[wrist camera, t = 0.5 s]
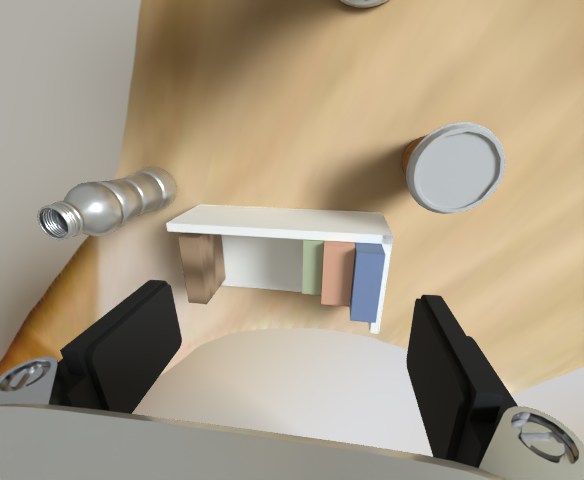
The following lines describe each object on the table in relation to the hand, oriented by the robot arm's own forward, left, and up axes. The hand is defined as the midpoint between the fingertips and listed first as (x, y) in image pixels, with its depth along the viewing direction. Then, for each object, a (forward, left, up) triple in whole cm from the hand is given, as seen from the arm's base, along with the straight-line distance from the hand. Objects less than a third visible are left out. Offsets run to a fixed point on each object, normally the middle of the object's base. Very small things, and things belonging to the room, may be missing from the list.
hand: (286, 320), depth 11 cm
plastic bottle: (+3, -27, -35) cm, 44 cm away
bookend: (+13, -19, -34) cm, 41 cm away
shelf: (+13, -6, -35) cm, 38 cm away
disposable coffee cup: (-2, +14, -35) cm, 38 cm away
